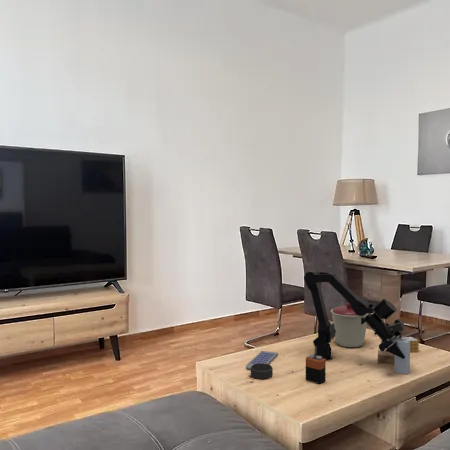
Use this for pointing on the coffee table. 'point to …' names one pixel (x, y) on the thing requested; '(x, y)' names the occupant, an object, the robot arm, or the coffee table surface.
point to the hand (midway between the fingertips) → (405, 356)
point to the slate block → (404, 364)
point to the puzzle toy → (413, 344)
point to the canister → (348, 326)
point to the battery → (315, 369)
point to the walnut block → (386, 357)
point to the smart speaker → (261, 371)
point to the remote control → (262, 359)
